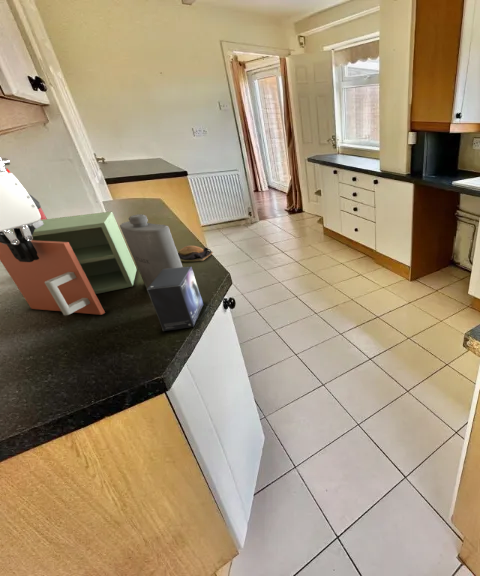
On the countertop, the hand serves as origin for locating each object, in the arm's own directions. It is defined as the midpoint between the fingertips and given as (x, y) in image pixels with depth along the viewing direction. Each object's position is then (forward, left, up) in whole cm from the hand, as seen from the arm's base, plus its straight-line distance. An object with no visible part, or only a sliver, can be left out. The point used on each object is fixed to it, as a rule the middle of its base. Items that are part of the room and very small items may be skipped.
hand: (29, 260), depth 66 cm
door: (-2, +2, -15) cm, 15 cm away
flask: (+20, +4, -15) cm, 26 cm away
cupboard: (+2, +17, -15) cm, 23 cm away
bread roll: (+28, +26, -15) cm, 41 cm away
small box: (+24, -15, -15) cm, 32 cm away
